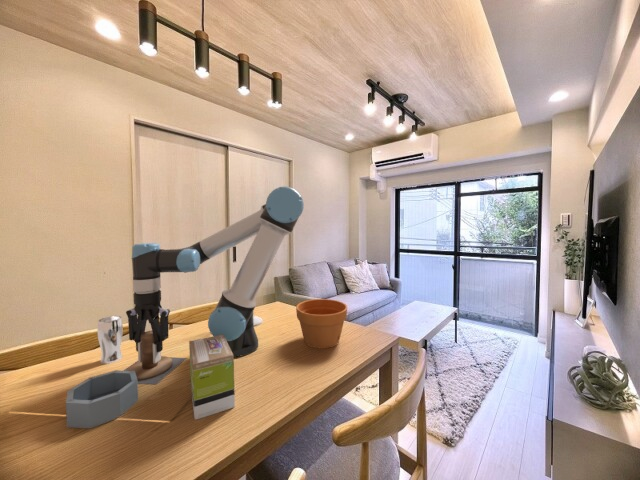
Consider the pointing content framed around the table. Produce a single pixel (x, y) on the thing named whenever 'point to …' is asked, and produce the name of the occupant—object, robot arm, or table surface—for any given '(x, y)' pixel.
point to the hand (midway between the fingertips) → (149, 360)
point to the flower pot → (321, 321)
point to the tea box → (211, 376)
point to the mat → (158, 378)
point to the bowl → (101, 399)
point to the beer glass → (110, 338)
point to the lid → (149, 360)
